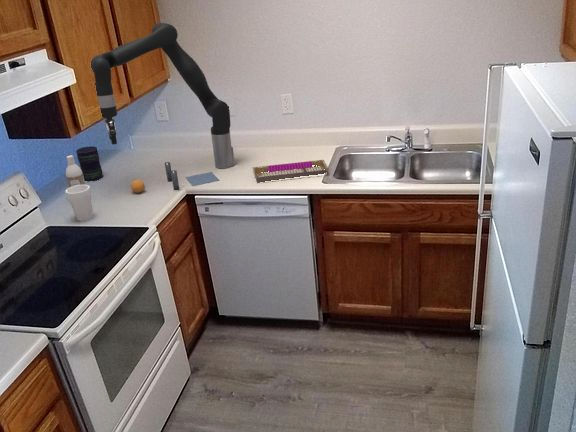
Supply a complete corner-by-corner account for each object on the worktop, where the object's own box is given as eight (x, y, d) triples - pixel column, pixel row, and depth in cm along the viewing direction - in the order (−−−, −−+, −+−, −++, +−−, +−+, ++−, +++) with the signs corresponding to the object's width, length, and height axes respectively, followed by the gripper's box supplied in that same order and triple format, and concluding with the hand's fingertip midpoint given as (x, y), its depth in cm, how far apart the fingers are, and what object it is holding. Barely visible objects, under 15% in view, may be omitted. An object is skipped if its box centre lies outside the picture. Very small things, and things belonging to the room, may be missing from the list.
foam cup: (76, 214, 222) (69, 185, 216) (98, 212, 222) (92, 183, 217) (70, 223, 213) (62, 194, 208) (93, 221, 214) (86, 192, 208)
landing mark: (211, 172, 258) (211, 171, 258) (219, 180, 247) (219, 180, 247) (185, 177, 253) (185, 177, 253) (192, 186, 243) (192, 185, 243)
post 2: (178, 188, 241) (175, 169, 238) (180, 189, 239) (177, 171, 235) (173, 189, 241) (170, 170, 237) (174, 191, 238) (171, 172, 235)
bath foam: (71, 202, 234) (60, 159, 226) (73, 196, 240) (62, 154, 232) (87, 199, 235) (76, 157, 227) (89, 194, 242) (79, 152, 233)
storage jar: (107, 177, 261) (100, 148, 254) (89, 183, 254) (82, 154, 248) (97, 173, 267) (90, 145, 261) (79, 179, 261) (72, 150, 254)
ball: (144, 188, 243) (142, 176, 241) (146, 193, 238) (144, 180, 236) (131, 191, 241) (128, 179, 239) (133, 195, 236) (130, 183, 234)
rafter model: (323, 166, 257) (323, 154, 254) (330, 176, 244) (329, 164, 241) (252, 174, 253) (251, 162, 251) (255, 185, 240) (254, 172, 238)
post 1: (172, 179, 252) (169, 161, 249) (173, 180, 250) (170, 163, 246) (167, 180, 252) (163, 162, 248) (168, 182, 249) (165, 164, 245)
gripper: (117, 107, 221) (124, 144, 227) (113, 101, 233) (120, 136, 239) (99, 109, 218) (106, 147, 225) (96, 103, 230) (103, 139, 237)
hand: (113, 141), depth 232 cm, fingers open, 8 cm apart
